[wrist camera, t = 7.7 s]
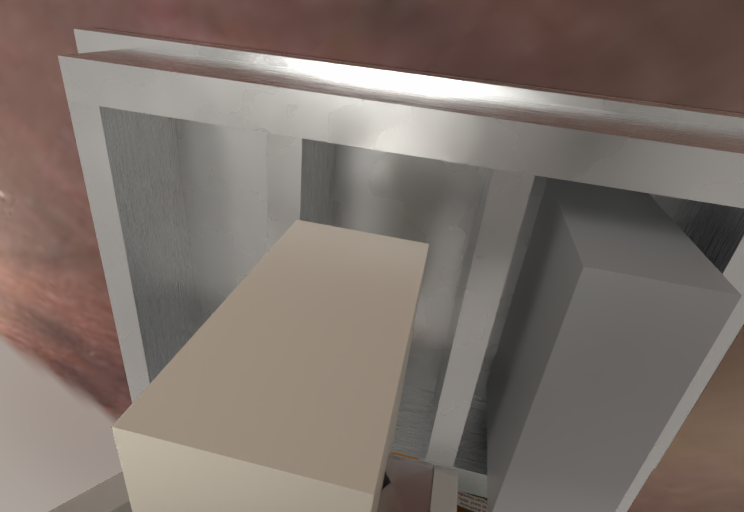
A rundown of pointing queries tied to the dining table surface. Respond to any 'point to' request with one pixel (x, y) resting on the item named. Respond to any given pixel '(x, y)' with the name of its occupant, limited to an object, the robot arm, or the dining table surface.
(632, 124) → the rack
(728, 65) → the dining table surface
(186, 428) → the beige rectangular block
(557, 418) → the gray rectangular block
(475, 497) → the food container
